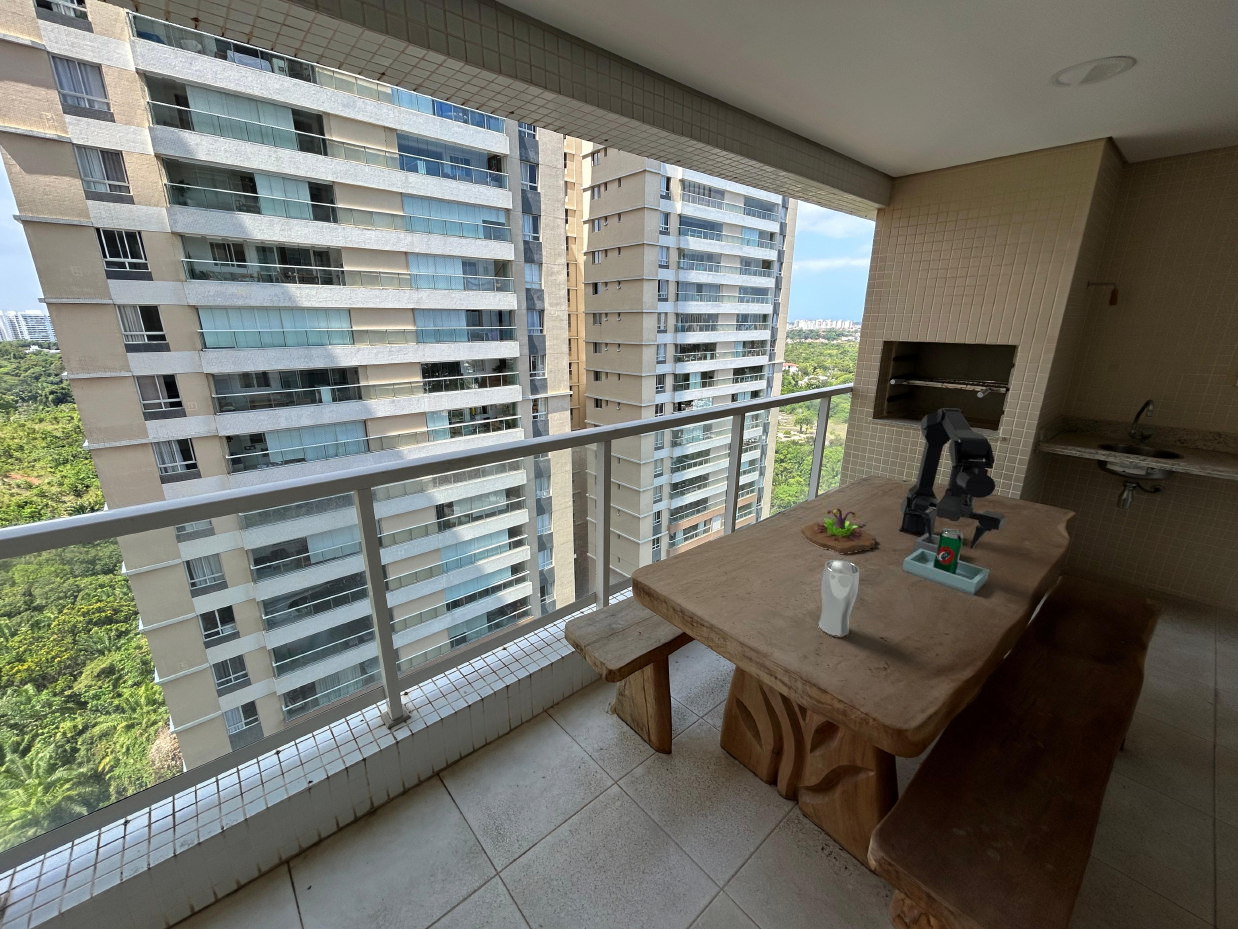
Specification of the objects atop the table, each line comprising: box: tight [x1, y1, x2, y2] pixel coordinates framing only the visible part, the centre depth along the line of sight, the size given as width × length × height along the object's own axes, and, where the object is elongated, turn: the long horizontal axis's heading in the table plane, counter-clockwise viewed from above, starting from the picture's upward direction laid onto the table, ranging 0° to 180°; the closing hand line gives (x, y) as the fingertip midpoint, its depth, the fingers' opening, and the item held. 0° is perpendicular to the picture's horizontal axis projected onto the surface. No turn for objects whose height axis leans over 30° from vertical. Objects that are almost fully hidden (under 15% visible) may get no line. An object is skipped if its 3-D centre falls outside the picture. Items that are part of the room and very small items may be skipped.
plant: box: [800, 508, 877, 553], centre depth 142 cm, size 20×20×11 cm
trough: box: [902, 549, 990, 596], centre depth 120 cm, size 16×11×3 cm
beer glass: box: [818, 559, 861, 636], centre depth 97 cm, size 7×7×15 cm
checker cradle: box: [912, 532, 939, 554], centre depth 133 cm, size 9×9×4 cm
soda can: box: [933, 527, 965, 575], centre depth 119 cm, size 5×5×12 cm
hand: (950, 542), depth 118 cm, fingers open, 9 cm apart
